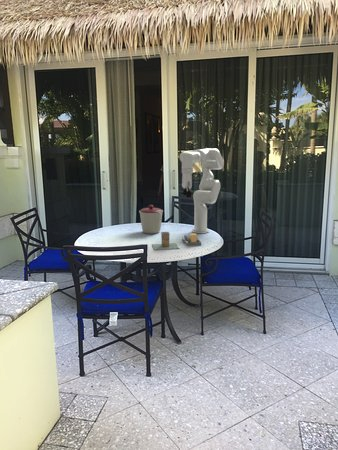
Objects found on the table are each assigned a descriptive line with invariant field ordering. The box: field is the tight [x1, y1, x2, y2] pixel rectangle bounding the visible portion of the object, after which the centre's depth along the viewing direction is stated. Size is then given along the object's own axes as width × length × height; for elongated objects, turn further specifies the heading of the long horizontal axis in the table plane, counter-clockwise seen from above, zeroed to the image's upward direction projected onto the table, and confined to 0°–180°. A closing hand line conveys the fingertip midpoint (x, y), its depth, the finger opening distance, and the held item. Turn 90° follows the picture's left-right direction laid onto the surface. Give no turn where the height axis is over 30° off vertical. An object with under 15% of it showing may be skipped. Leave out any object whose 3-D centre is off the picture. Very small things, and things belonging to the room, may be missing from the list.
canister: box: [138, 204, 164, 235], centre depth 271 cm, size 18×18×21 cm
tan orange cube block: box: [189, 232, 198, 242], centre depth 238 cm, size 4×4×5 cm
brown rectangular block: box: [160, 231, 170, 247], centre depth 232 cm, size 5×5×9 cm
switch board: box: [181, 235, 202, 247], centre depth 243 cm, size 14×10×4 cm
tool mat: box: [151, 242, 180, 251], centre depth 233 cm, size 12×16×1 cm
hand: (187, 196), depth 246 cm, fingers open, 9 cm apart
